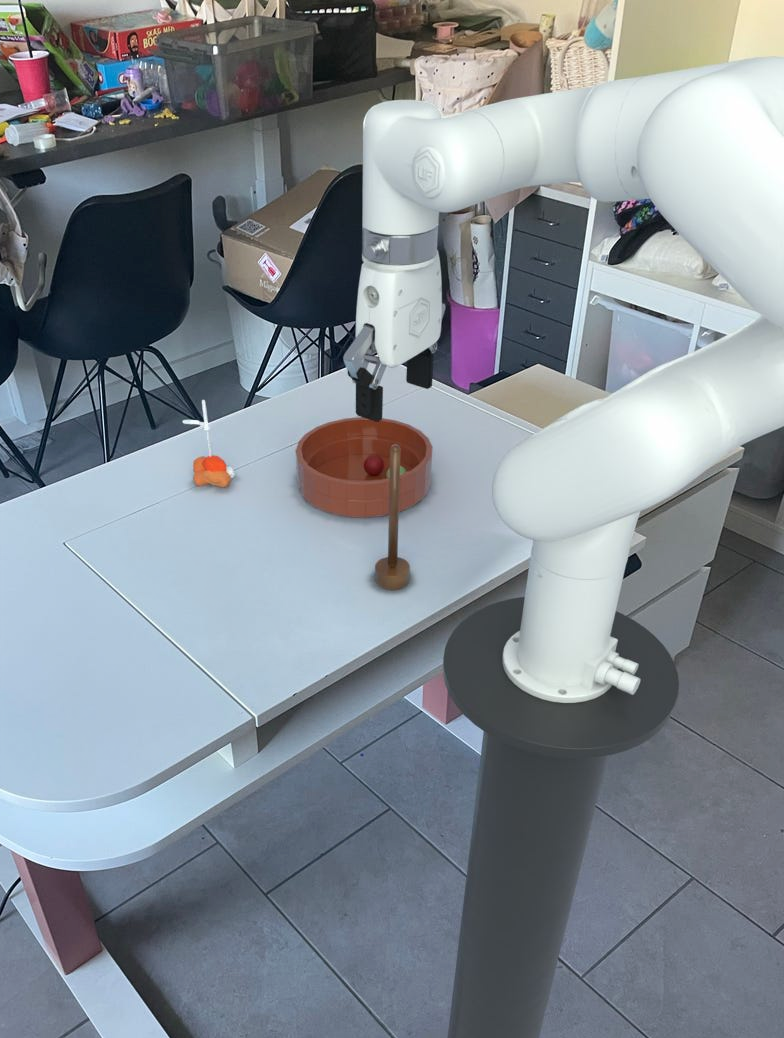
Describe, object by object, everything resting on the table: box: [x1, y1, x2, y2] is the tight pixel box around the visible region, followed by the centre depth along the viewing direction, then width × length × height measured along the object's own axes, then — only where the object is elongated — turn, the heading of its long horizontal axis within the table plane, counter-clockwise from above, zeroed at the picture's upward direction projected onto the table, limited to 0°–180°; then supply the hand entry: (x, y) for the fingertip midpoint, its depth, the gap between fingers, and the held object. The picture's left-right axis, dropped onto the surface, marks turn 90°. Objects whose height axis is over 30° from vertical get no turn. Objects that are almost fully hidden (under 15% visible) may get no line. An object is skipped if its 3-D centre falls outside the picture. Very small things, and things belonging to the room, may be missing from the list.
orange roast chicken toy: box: [182, 399, 236, 489], centre depth 139 cm, size 6×10×12 cm, turn 38°
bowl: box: [295, 416, 433, 518], centre depth 137 cm, size 20×20×6 cm
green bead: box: [387, 466, 406, 479], centre depth 137 cm, size 3×3×3 cm
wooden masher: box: [374, 445, 411, 591], centre depth 115 cm, size 4×4×19 cm
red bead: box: [364, 455, 384, 476], centre depth 139 cm, size 3×3×3 cm
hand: (394, 401), depth 105 cm, fingers open, 9 cm apart
